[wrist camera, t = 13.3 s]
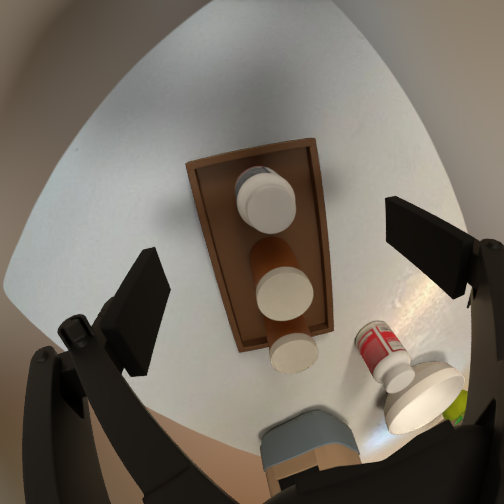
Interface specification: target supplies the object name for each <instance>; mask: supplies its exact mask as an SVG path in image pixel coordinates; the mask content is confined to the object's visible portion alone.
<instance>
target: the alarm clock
mask: <svg viewBox="0 0 504 504" xmlns="http://www.w3.org/2000/svg"><path fill="white" fill-rule="evenodd" d="M260 452H261V458H262V464H263V469H264V472H266V477H267V482H268V486H269V491H270V495H271V497H273V496H274V495H276V494H277V493H279V492H281V491H283V490H284V489H286V488H289V487H291V486H293V485H295V479H294V477H296V476H300V475H305V474H309V473H313V472H318V471H321V470H325V469H329V468H333V467H336V466H346V465H356V464H362V463H361V460H360V457H359V455H360V453H359V450H358V447H357V444H356V441H355V438H354V436H353V433H352V431H351V429H350V428H349V427H348V426H347V425H346V424H344V423H343V422H341V421H339V420H338V419H336V418H335V417H333V416H331V415H330V414H328V413H326V412H324V411H320V410H317V411H310V412H307V413H304V414H303V415H301V416H299V417H297V418H295V419H293V420H291V421H289V422H287V423H285V424H283V425H281V426H279V427H277V428H274V429H272V430H271V431H269V432H268V433H267V434H266V435H265V436H264V437H263V439H262V443H261V446H260Z"/></svg>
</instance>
